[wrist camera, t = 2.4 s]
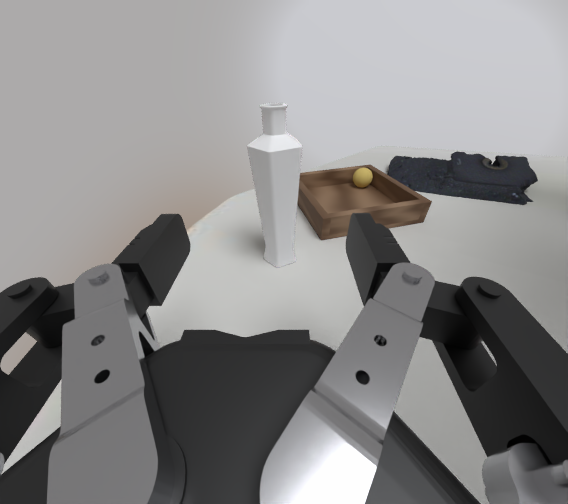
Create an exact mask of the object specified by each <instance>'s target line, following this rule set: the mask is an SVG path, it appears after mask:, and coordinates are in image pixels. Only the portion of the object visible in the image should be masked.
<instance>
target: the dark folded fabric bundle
mask: <svg viewBox="0 0 568 504" xmlns="http://www.w3.org/2000/svg"><path fill="white" fill-rule="evenodd" d="M451 158H452V159H451V160H449V161H447V160H443V159H442V160H439V159H434V158H430V159H429V158H412V157H405V156H403V157H402V156H395V157H394V158H393V159H392V160H391V162H390V165H389V171H388V176H390V177H392V178H393V179H395V180H397V181H398V182H400V183H402V184H403V185H405V186H407V187H408V188H410V189H412V190H413V191H419V192H425V193H433V194H439V195H446V196H454V197H463V198H471V199H480V200H488V201H496V202H504V203H511V204H520V205H524V204H526V203H527V202H533V201H532V200H531V199H529V198H528V196H526V195H525V194H524V190H525V189H527V188H528V187H529V186H530V185H531V184H533V183H535V182H537V181H538V179H537V177H536V174H535V172H534V171H533V170H532V169H531V168H530V166H529V163H528V161H527V158H526V157H515V156H511V157H508V156H496V157H495V159H496V160H495V161H494V163H493V164H491V163H492V161H491V160H490V159H488V158H485V157H484V156H483V155H481V154H473V155H471V154H466V153H465V152H455V153H453V154H451Z"/></svg>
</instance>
